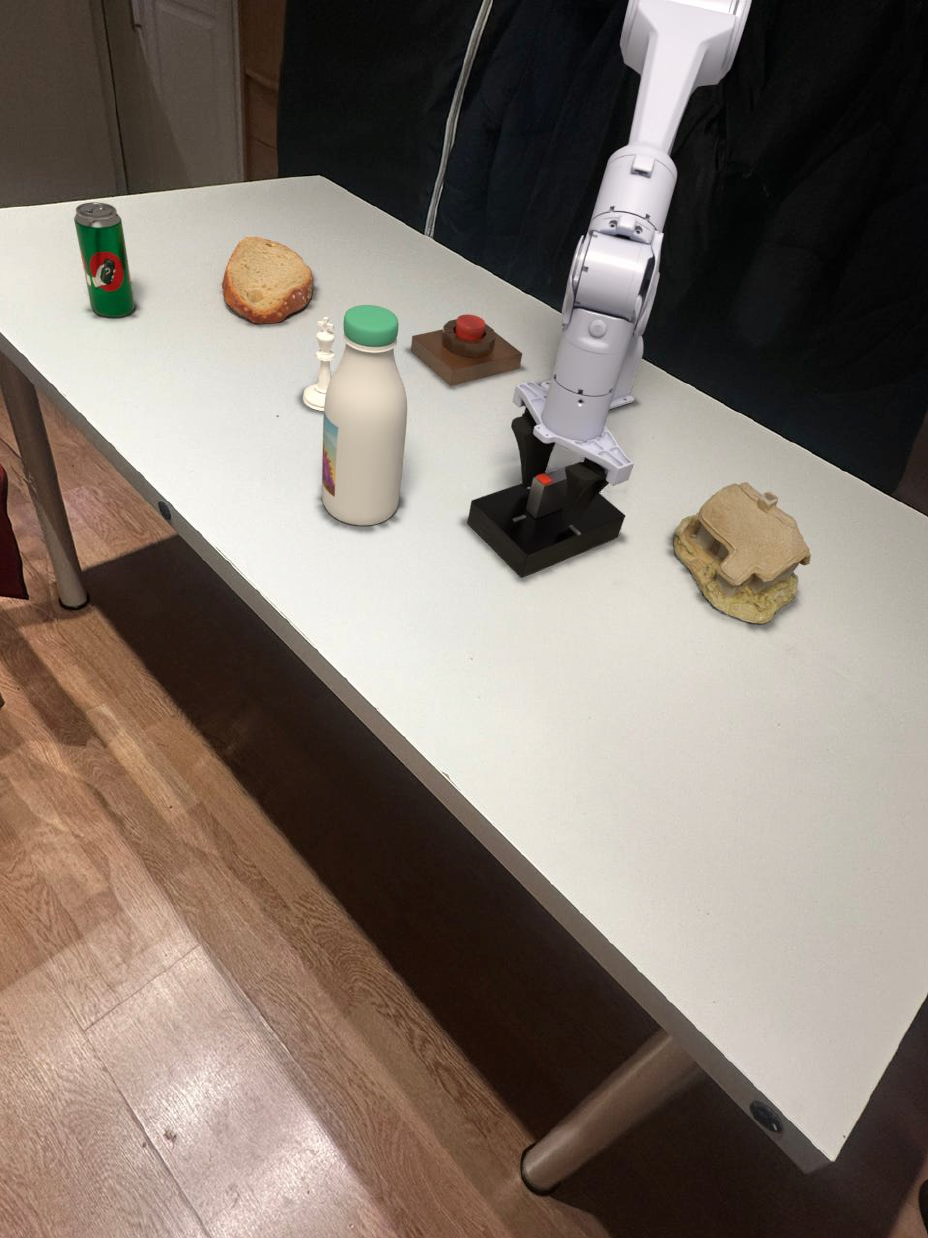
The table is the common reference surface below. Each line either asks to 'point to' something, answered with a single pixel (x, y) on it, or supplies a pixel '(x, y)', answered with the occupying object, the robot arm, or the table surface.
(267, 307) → the slice of bread
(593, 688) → the table surface
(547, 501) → the knob
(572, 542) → the panel
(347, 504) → the milk bottle
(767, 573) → the ceramic model
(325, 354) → the chess piece
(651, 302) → the robot arm
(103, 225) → the soda can
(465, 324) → the button
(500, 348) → the brown button base
